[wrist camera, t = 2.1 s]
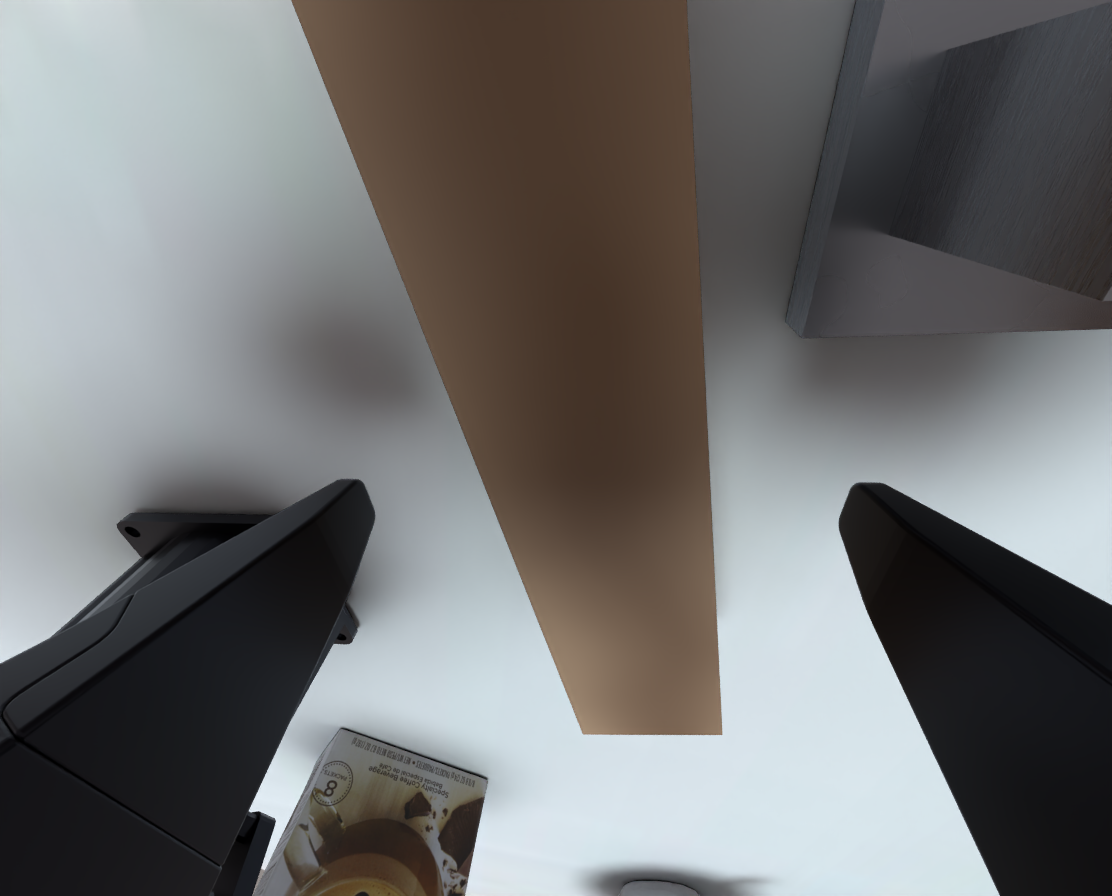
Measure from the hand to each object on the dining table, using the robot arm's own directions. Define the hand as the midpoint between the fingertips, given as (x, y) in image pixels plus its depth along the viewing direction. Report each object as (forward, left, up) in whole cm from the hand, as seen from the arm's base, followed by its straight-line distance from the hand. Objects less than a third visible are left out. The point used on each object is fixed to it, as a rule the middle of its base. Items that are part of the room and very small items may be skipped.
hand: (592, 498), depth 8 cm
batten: (0, 0, -4) cm, 4 cm away
